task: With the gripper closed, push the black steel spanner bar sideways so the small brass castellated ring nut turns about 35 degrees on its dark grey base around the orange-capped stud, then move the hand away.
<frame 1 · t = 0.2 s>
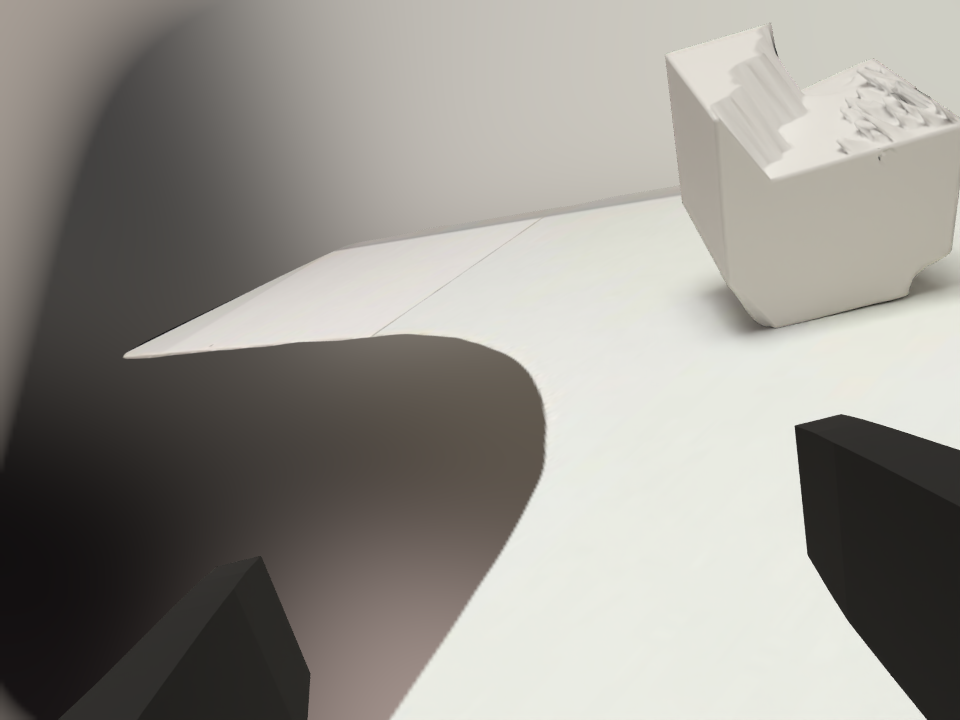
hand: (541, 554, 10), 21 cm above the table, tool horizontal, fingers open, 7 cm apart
white carved block: (825, 304, 71), on the table
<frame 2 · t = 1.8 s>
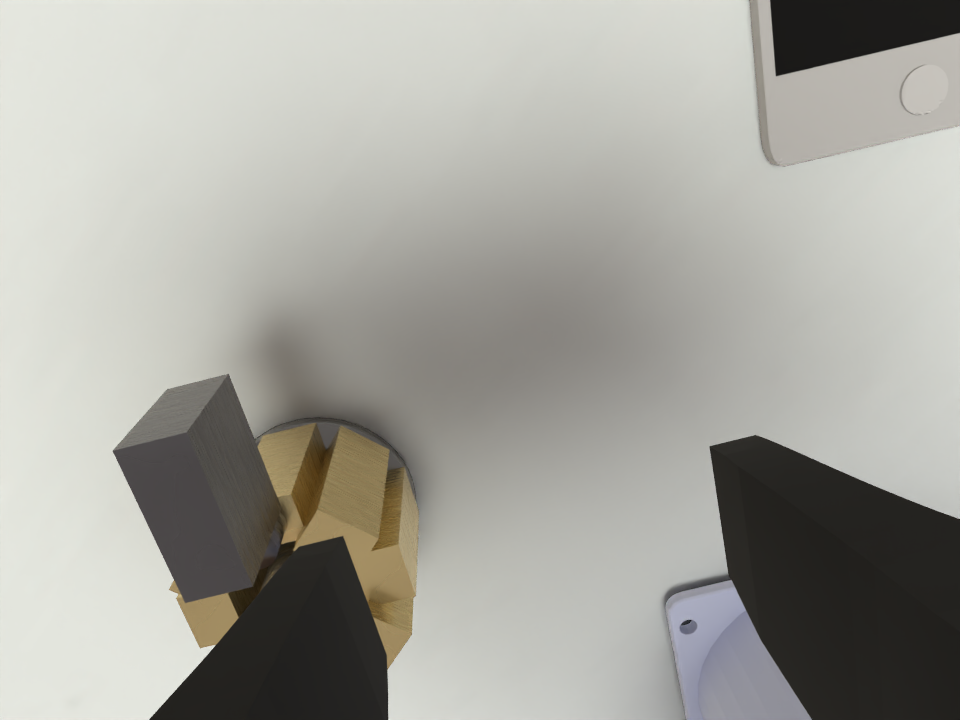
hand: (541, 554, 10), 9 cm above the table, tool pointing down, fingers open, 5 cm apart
ring nut: (276, 534, 16), point 4 cm above the table, hinge at 0.0°
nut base: (323, 501, 20), on the table
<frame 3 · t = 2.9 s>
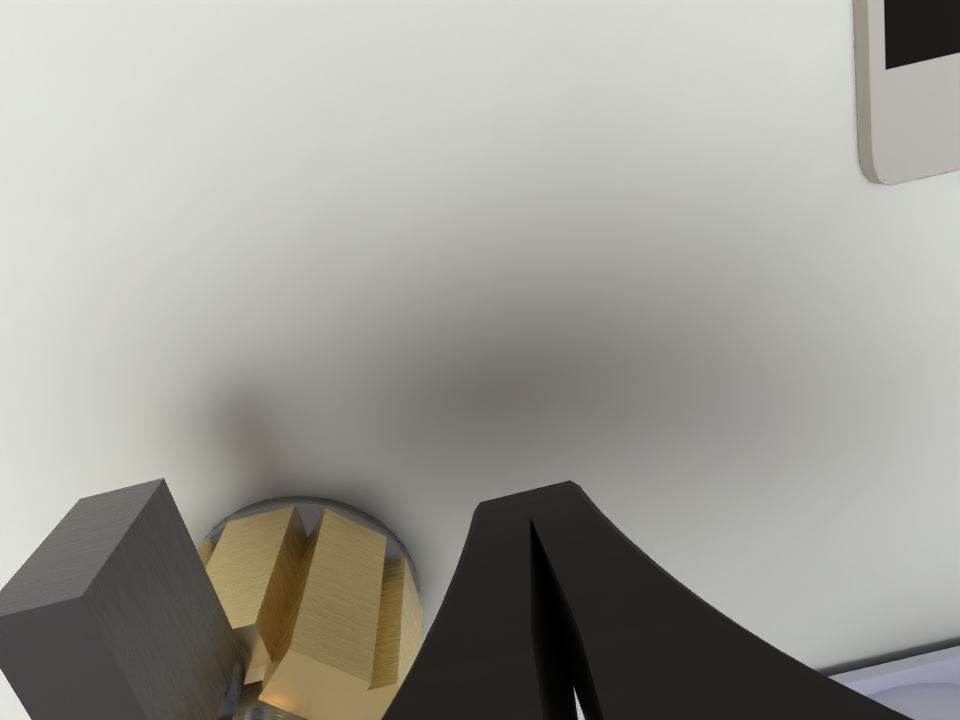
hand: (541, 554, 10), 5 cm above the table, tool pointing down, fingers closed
ring nut: (238, 670, 12), point 4 cm above the table, hinge at 0.0°
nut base: (305, 595, 16), on the table
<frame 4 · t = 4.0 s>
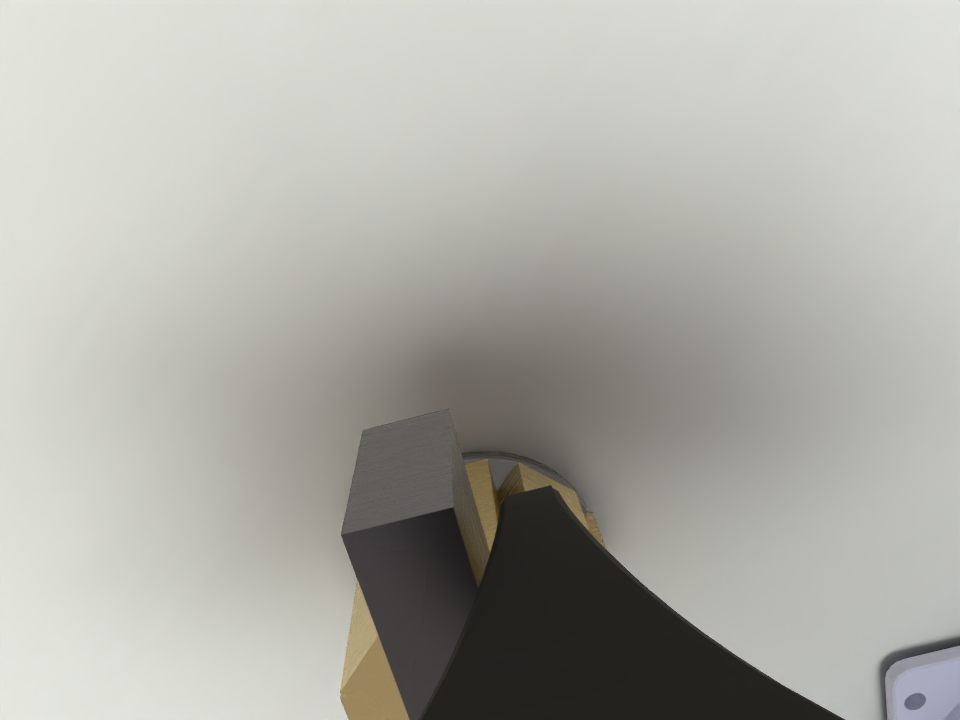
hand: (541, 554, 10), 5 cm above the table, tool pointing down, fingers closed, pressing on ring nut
ring nut: (474, 614, 12), point 4 cm above the table, hinge at 0.0°, touching gripper
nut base: (482, 554, 16), on the table
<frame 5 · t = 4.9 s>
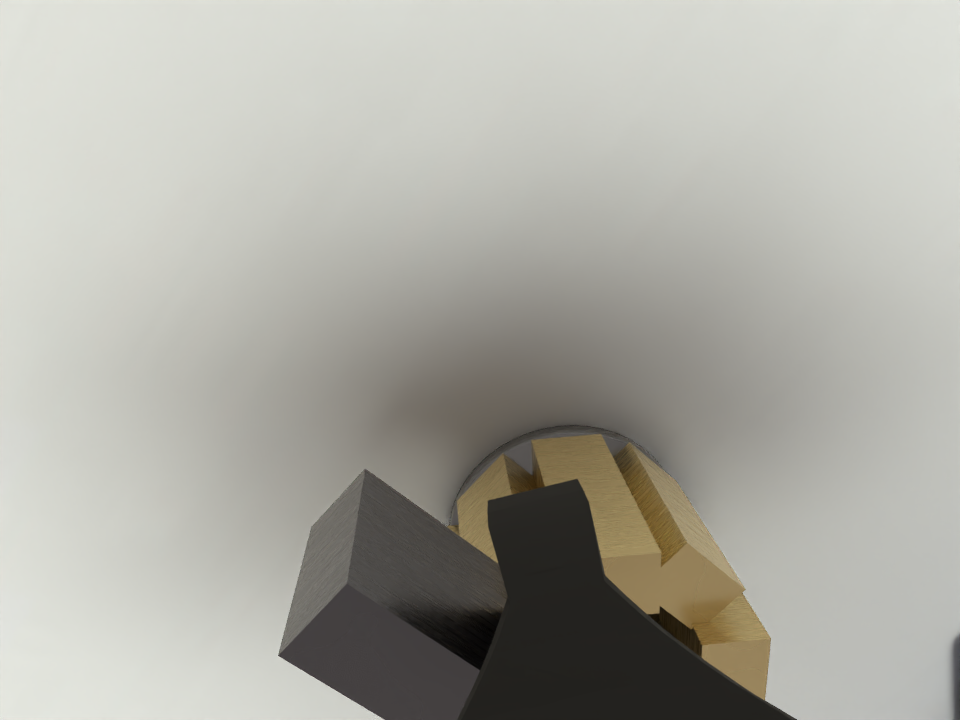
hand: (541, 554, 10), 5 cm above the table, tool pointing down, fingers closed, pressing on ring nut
ring nut: (539, 609, 12), point 4 cm above the table, hinge at 34.7°, touching gripper
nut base: (564, 530, 16), on the table
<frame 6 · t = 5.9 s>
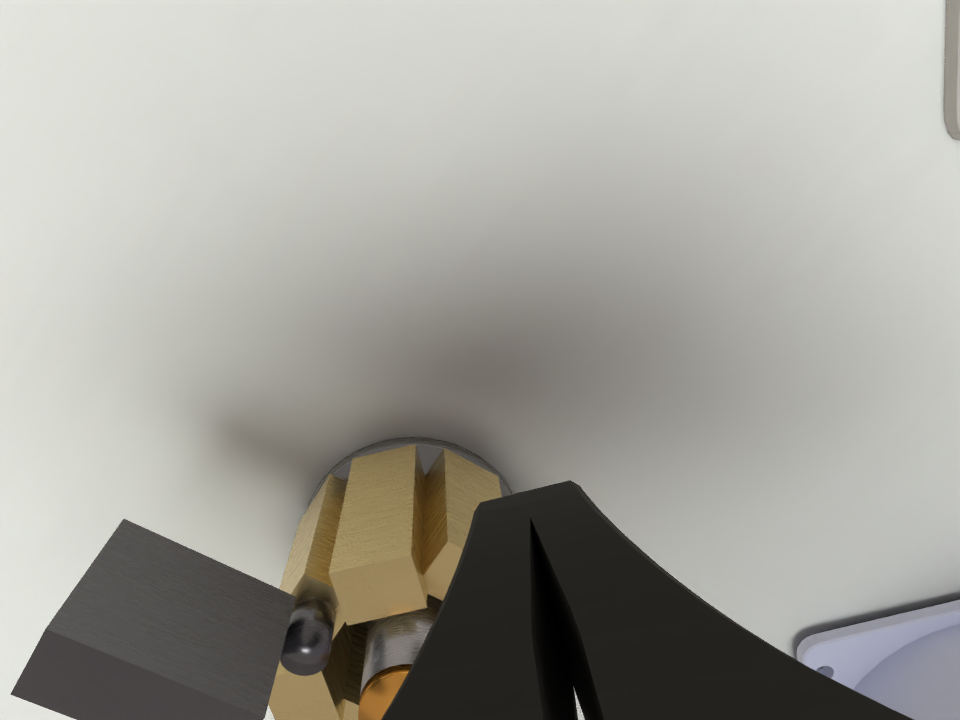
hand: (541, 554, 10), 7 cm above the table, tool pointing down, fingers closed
ring nut: (337, 616, 13), point 4 cm above the table, hinge at 43.9°
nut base: (413, 533, 17), on the table
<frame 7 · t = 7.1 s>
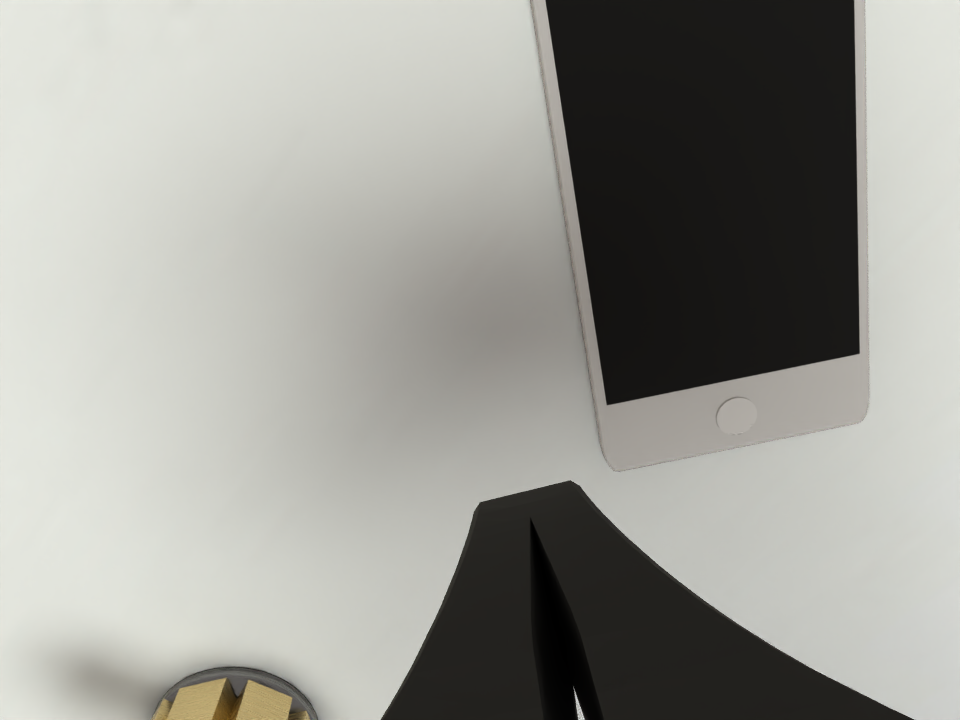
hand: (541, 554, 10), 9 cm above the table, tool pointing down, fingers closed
smartphone: (699, 151, 18), on the table
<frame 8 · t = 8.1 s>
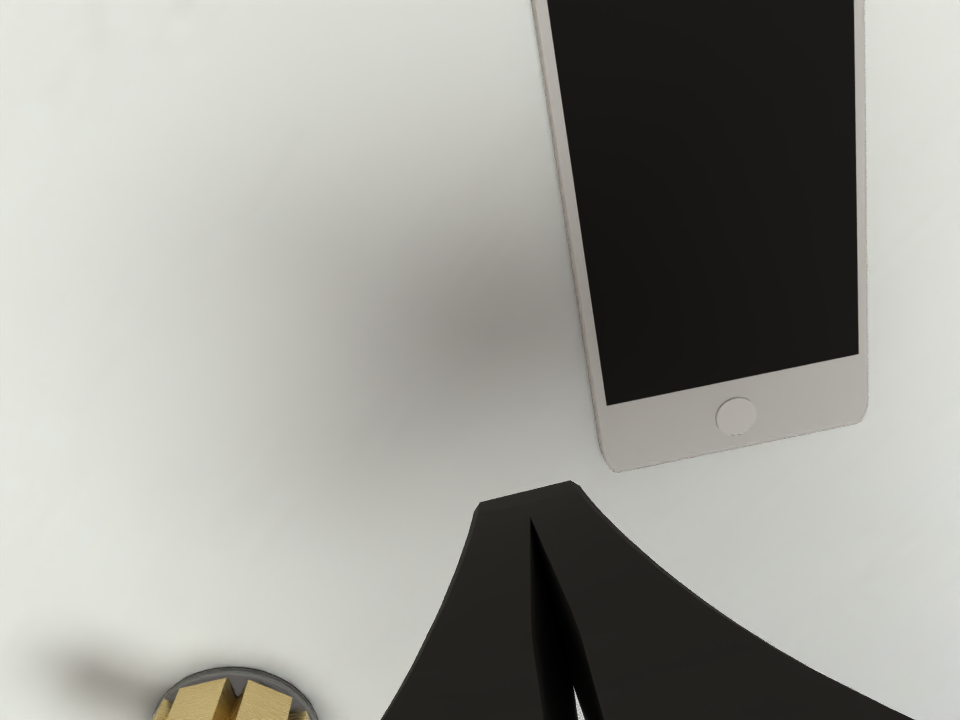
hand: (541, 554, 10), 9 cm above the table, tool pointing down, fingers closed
smartphone: (699, 152, 18), on the table
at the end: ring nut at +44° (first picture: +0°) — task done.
